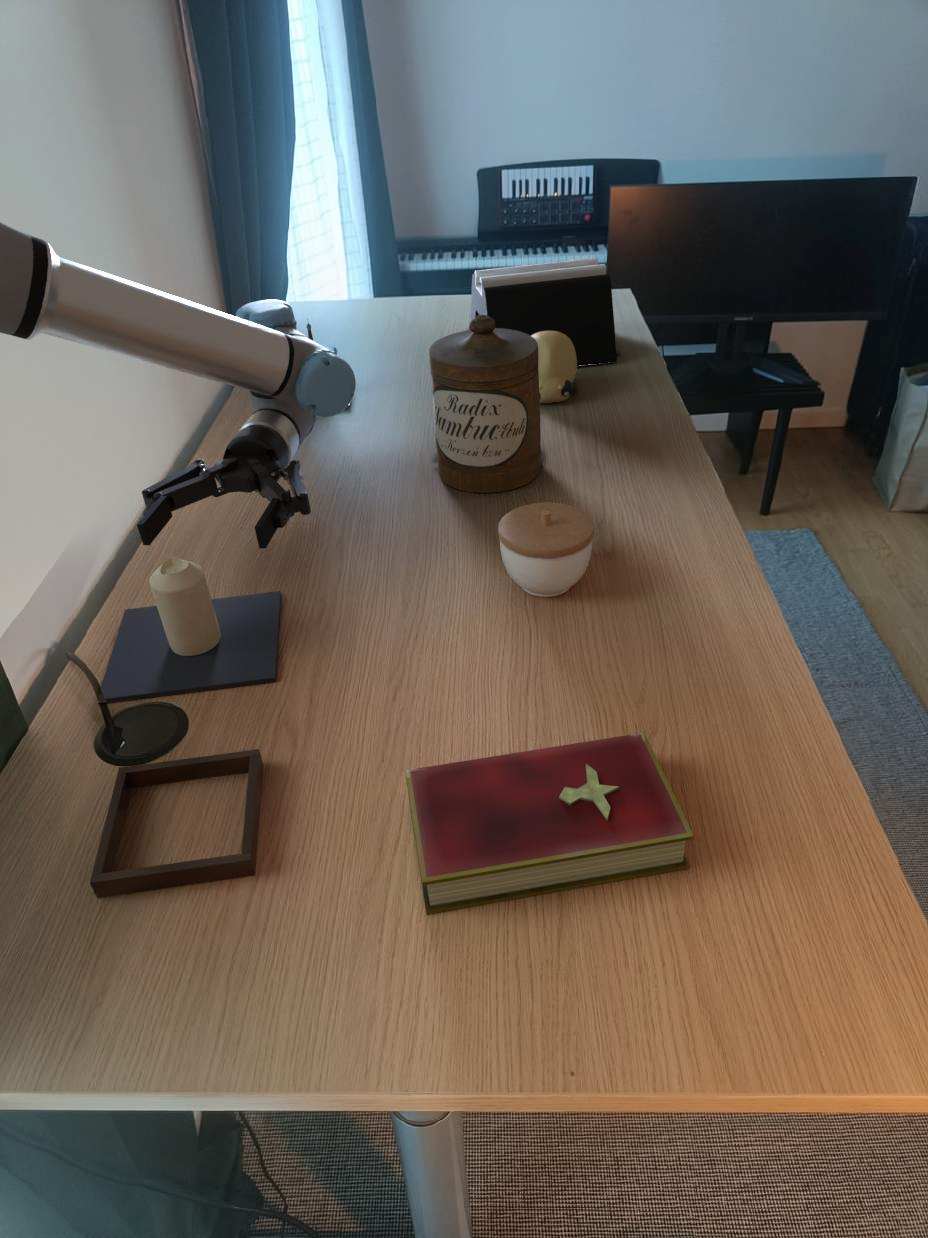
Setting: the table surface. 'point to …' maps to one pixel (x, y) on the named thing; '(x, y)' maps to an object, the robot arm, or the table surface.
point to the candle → (185, 607)
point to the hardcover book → (544, 822)
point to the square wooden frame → (187, 871)
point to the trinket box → (546, 546)
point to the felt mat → (158, 671)
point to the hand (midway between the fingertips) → (200, 536)
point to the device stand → (552, 303)
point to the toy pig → (555, 366)
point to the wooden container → (486, 407)
